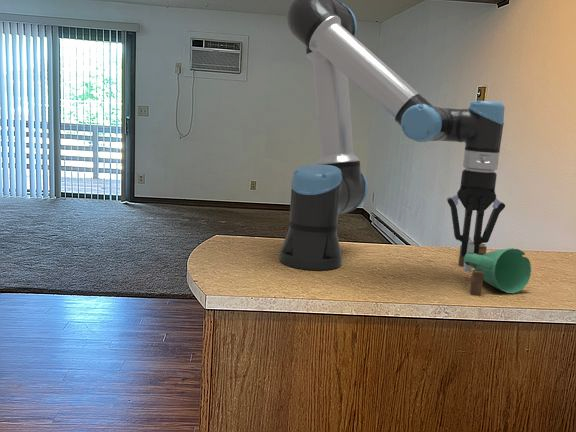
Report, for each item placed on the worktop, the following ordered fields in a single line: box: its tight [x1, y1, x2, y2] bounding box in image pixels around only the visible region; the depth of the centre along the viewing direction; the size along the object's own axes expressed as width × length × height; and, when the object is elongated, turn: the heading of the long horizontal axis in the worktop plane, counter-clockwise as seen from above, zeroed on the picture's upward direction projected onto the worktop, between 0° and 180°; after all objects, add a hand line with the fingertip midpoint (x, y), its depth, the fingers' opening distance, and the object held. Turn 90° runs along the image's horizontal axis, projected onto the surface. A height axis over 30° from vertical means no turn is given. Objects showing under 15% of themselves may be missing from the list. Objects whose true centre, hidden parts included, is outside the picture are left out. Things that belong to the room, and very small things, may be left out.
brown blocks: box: [457, 243, 487, 297], centre depth 134 cm, size 7×32×5 cm, turn 169°
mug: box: [464, 247, 532, 294], centre depth 126 cm, size 15×10×10 cm
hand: (467, 270), depth 132 cm, fingers closed
